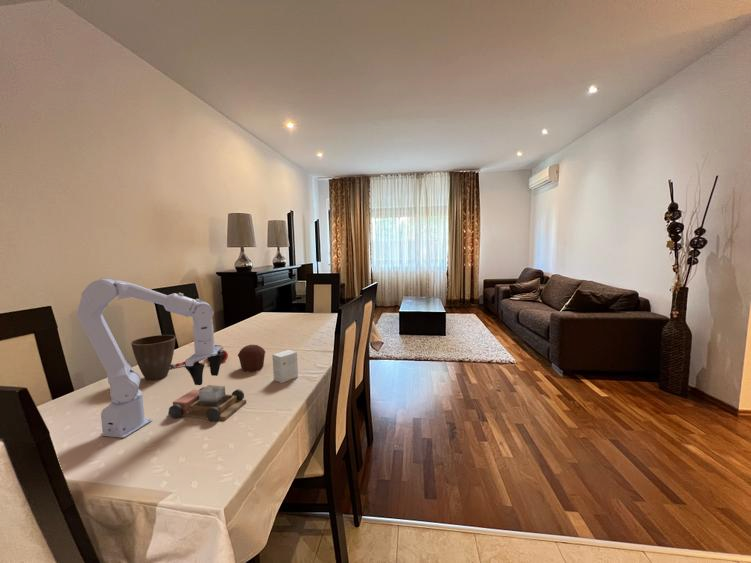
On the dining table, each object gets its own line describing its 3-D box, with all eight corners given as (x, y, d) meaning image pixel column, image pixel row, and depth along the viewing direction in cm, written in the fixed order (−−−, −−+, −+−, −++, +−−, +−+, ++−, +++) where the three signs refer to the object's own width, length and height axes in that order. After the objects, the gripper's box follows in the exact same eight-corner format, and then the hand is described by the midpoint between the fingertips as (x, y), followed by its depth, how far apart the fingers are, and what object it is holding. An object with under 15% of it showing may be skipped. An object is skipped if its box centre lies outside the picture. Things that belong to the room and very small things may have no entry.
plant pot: (161, 368, 141) (158, 333, 139) (186, 372, 136) (183, 336, 134) (125, 382, 127) (121, 342, 125) (152, 386, 122) (148, 346, 120)
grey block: (217, 410, 101) (215, 392, 100) (200, 409, 102) (198, 391, 101) (226, 403, 105) (224, 386, 105) (209, 402, 106) (208, 385, 106)
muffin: (272, 365, 142) (270, 344, 141) (252, 374, 133) (250, 351, 132) (253, 362, 148) (252, 340, 147) (232, 370, 138) (231, 347, 137)
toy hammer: (171, 373, 136) (170, 358, 136) (169, 365, 146) (168, 352, 145) (228, 361, 150) (227, 348, 149) (223, 355, 159) (222, 342, 159)
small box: (290, 373, 133) (289, 349, 132) (298, 377, 129) (297, 351, 128) (273, 380, 127) (271, 354, 126) (281, 383, 123) (280, 357, 122)
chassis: (222, 422, 95) (222, 409, 95) (165, 417, 99) (163, 405, 99) (248, 401, 109) (247, 389, 108) (196, 397, 112) (195, 386, 112)
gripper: (198, 346, 95) (201, 390, 96) (229, 333, 109) (231, 372, 110) (178, 345, 96) (181, 388, 98) (211, 333, 110) (213, 371, 112)
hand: (206, 379), depth 104 cm, fingers open, 7 cm apart
